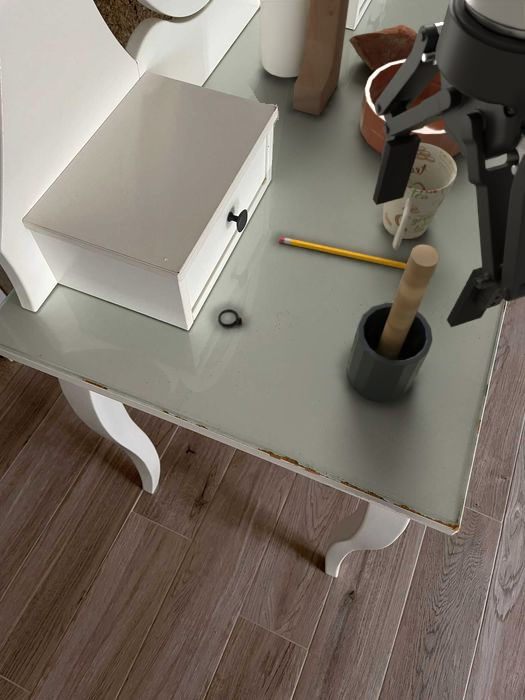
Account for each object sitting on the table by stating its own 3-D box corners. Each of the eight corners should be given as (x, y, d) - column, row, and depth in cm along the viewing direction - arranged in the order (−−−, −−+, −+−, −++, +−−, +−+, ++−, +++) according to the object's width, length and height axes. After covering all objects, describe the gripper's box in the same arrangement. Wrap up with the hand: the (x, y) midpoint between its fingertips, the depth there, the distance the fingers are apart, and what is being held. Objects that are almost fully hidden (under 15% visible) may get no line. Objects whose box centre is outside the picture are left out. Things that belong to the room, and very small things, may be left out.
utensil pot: (423, 390, 67) (445, 351, 59) (363, 411, 66) (377, 374, 58) (394, 336, 70) (411, 294, 63) (336, 355, 69) (346, 314, 61)
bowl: (488, 151, 86) (502, 117, 81) (388, 179, 83) (396, 145, 78) (435, 84, 94) (445, 49, 89) (341, 107, 91) (346, 72, 86)
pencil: (280, 238, 78) (280, 235, 78) (423, 269, 76) (425, 266, 75) (279, 243, 78) (279, 239, 77) (422, 274, 75) (424, 271, 75)
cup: (291, 92, 93) (296, 2, 80) (249, 72, 95) (248, -19, 83) (321, 65, 96) (330, -25, 84) (280, 46, 98) (283, -44, 86)
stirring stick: (406, 380, 67) (461, 267, 49) (371, 392, 66) (414, 282, 48) (389, 349, 69) (435, 229, 51) (355, 360, 68) (390, 243, 50)
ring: (215, 325, 72) (237, 332, 71) (214, 320, 71) (236, 327, 70) (224, 310, 73) (246, 316, 72) (223, 305, 72) (245, 312, 71)
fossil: (450, 53, 92) (429, 5, 84) (424, 100, 92) (400, 56, 84) (386, 48, 100) (361, 4, 92) (362, 90, 100) (335, 50, 93)
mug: (440, 207, 81) (461, 150, 72) (424, 277, 75) (446, 224, 66) (381, 194, 82) (395, 136, 73) (361, 261, 76) (374, 207, 67)
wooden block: (319, 117, 90) (331, -2, 74) (292, 109, 91) (298, -10, 75) (338, 83, 94) (354, -37, 78) (312, 76, 95) (323, -44, 79)
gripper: (360, -99, 36) (324, 165, 54) (610, 180, 24) (457, 394, 43) (467, -118, 37) (397, 147, 56) (752, 138, 26) (544, 364, 44)
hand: (423, 255), depth 49 cm, fingers open, 13 cm apart
